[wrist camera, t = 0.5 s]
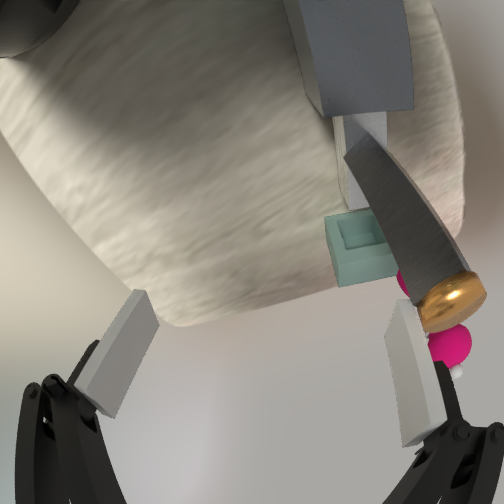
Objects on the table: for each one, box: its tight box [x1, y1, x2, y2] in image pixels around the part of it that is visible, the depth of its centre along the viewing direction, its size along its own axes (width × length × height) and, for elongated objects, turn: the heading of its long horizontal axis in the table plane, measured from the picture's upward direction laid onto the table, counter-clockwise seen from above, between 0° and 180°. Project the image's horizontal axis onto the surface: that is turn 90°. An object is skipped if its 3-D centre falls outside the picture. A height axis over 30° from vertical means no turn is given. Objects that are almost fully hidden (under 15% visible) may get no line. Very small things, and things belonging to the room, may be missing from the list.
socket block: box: [324, 209, 399, 287], centre depth 29 cm, size 4×7×7 cm, turn 105°
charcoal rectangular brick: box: [282, 0, 414, 118], centre depth 14 cm, size 10×7×6 cm
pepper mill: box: [396, 269, 472, 379], centre depth 28 cm, size 7×7×20 cm
